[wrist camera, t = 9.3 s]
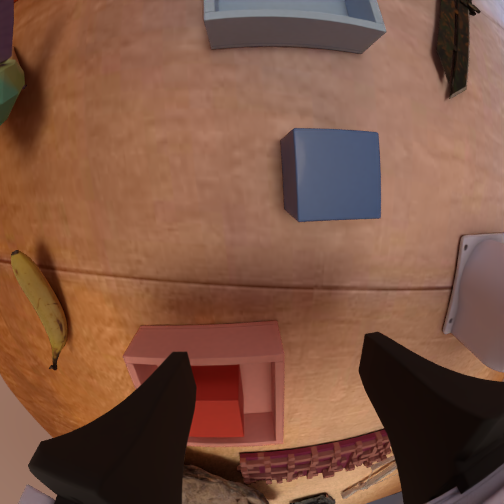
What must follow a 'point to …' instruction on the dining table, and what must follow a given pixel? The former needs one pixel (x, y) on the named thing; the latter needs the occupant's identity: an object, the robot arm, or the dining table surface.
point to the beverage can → (317, 500)
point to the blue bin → (294, 23)
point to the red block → (218, 402)
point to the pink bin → (224, 353)
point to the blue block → (331, 174)
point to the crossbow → (375, 478)
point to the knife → (462, 41)
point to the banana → (41, 301)
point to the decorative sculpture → (8, 62)
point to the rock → (215, 489)
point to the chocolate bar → (314, 459)
